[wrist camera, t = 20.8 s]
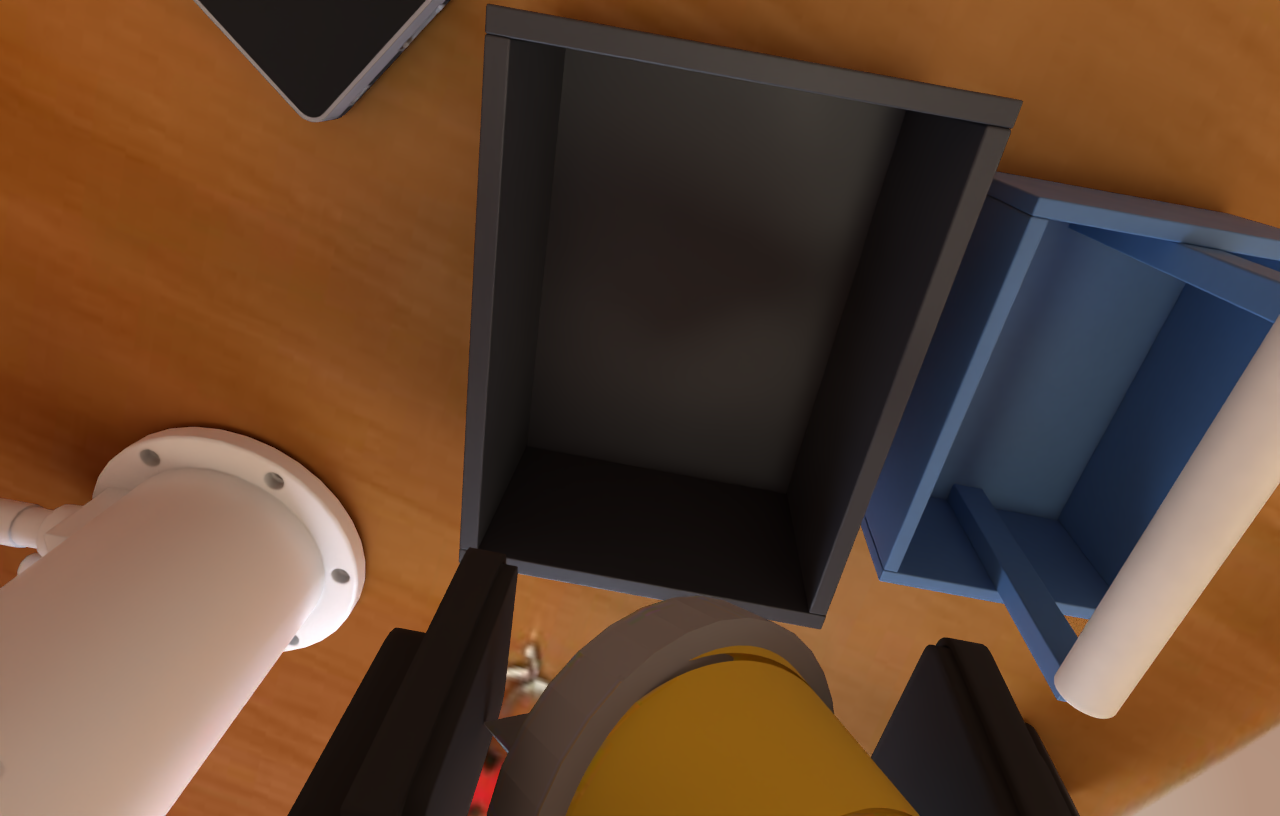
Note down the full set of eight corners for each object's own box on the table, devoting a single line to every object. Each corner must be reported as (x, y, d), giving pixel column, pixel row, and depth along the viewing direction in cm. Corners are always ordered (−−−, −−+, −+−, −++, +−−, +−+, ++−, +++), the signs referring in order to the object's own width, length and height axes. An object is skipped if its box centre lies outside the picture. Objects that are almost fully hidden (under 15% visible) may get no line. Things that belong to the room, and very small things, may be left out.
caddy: (1057, 524, 29) (1245, 771, 19) (846, 485, 29) (921, 711, 19) (1227, 213, 23) (1634, 332, 13) (962, 165, 23) (1160, 245, 13)
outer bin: (795, 499, 29) (821, 630, 23) (515, 448, 30) (458, 563, 23) (927, 88, 22) (1024, 100, 15) (553, 20, 22) (485, 3, 15)
